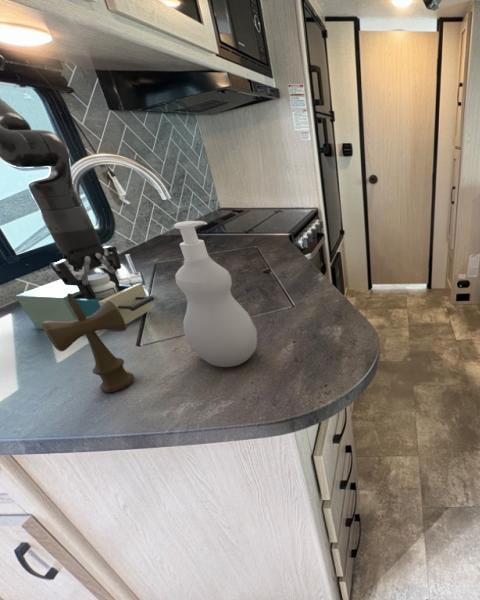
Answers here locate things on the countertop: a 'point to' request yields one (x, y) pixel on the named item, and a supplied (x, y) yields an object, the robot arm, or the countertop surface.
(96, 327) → the kendama
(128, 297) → the drawer
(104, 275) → the pill bottle
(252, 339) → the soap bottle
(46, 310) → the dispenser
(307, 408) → the countertop surface
